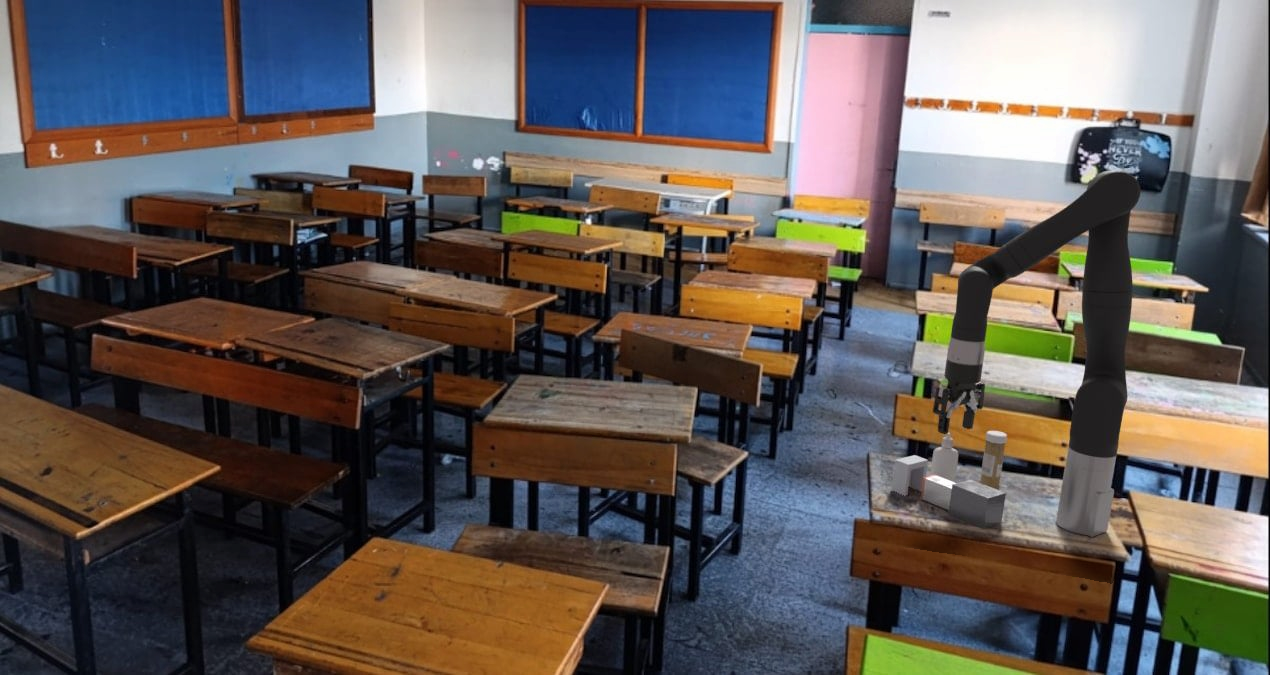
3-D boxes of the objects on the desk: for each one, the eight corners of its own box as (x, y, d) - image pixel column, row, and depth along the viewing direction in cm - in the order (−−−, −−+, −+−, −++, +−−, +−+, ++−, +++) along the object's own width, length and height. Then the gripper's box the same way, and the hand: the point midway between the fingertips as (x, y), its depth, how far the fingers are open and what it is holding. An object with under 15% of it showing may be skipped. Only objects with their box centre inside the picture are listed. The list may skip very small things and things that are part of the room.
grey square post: (993, 520, 204) (997, 498, 203) (982, 524, 201) (985, 502, 200) (931, 495, 216) (934, 474, 215) (920, 498, 214) (923, 477, 213)
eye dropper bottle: (931, 475, 230) (937, 428, 227) (955, 480, 228) (962, 433, 225) (928, 481, 226) (935, 433, 223) (953, 486, 224) (959, 437, 221)
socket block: (923, 490, 220) (928, 460, 218) (904, 496, 216) (908, 464, 214) (910, 485, 223) (914, 455, 221) (891, 490, 218) (895, 459, 217)
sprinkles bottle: (1002, 491, 223) (1011, 436, 220) (984, 490, 222) (992, 435, 219) (993, 483, 227) (1001, 430, 224) (975, 483, 226) (983, 429, 224)
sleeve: (1001, 522, 204) (1005, 493, 202) (983, 528, 200) (988, 498, 198) (965, 508, 210) (970, 479, 209) (948, 513, 207) (952, 484, 205)
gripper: (958, 366, 199) (948, 440, 202) (1000, 360, 207) (989, 431, 210) (929, 358, 205) (920, 430, 208) (970, 352, 213) (961, 421, 216)
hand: (955, 430), depth 209 cm, fingers open, 8 cm apart
